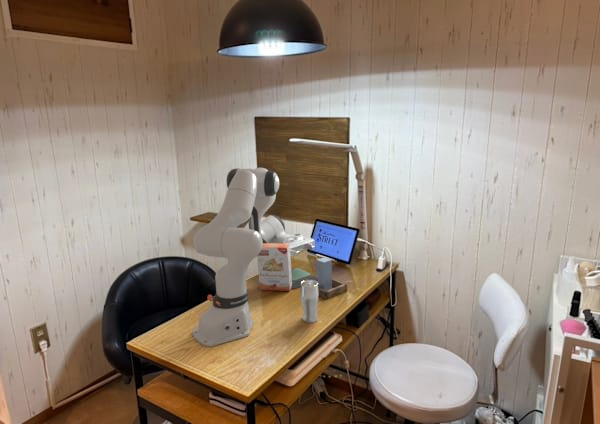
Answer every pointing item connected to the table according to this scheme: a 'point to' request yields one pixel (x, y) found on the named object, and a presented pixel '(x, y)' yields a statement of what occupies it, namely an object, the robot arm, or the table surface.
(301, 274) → the green felt pad
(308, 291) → the beer glass
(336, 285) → the dark wooden tray
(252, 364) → the table surface
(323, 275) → the slate block
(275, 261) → the cracker box
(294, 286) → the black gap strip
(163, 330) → the table surface
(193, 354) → the table surface
